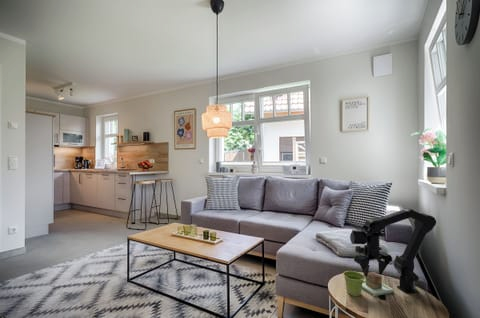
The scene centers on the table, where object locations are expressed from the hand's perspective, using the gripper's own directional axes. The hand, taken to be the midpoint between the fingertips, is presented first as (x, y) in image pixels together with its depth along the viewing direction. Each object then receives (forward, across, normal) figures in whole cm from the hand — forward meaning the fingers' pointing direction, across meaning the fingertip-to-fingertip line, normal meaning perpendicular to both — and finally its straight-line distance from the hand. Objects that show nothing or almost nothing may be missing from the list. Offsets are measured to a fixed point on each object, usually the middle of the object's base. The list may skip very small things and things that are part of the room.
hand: (373, 275), depth 122 cm
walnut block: (+6, 0, 0) cm, 6 cm away
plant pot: (+6, +13, +1) cm, 14 cm away
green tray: (+6, 0, 0) cm, 6 cm away
